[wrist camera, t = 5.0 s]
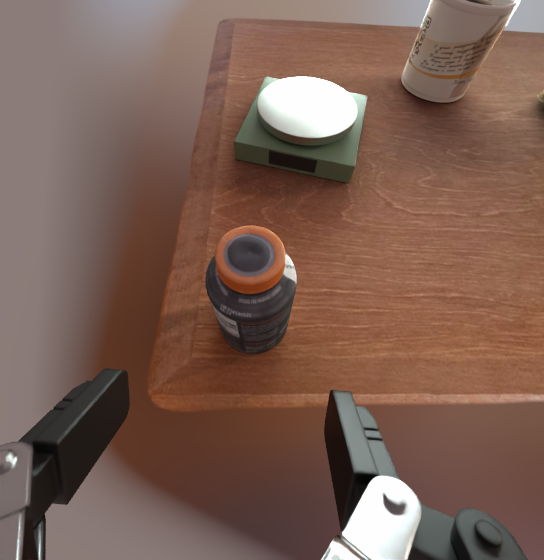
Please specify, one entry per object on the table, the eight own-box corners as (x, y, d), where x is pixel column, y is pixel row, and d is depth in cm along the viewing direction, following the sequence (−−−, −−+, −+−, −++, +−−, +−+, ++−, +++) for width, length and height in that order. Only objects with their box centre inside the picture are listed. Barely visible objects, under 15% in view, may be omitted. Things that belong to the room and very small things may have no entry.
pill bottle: (289, 295, 28) (306, 216, 18) (284, 358, 25) (301, 306, 15) (226, 288, 28) (208, 205, 18) (214, 351, 25) (185, 293, 15)
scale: (235, 159, 36) (232, 129, 33) (265, 95, 43) (265, 64, 39) (348, 184, 35) (358, 155, 32) (361, 113, 42) (371, 83, 38)
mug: (384, 80, 46) (418, -17, 36) (424, 54, 50) (464, -40, 40) (445, 111, 43) (501, 14, 33) (482, 80, 47) (541, -14, 37)
